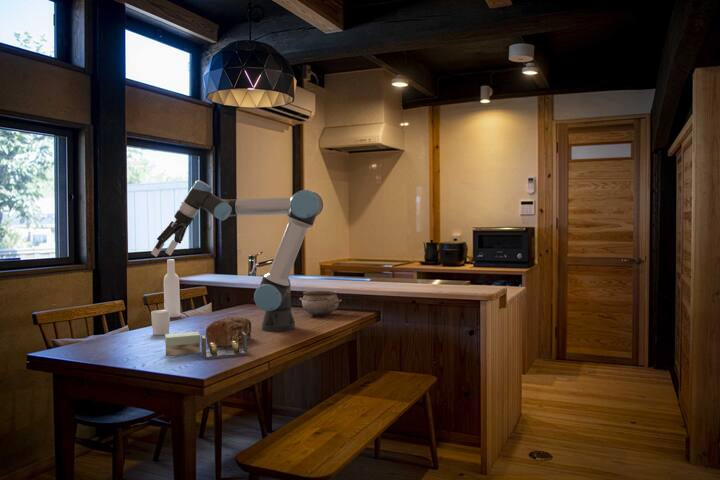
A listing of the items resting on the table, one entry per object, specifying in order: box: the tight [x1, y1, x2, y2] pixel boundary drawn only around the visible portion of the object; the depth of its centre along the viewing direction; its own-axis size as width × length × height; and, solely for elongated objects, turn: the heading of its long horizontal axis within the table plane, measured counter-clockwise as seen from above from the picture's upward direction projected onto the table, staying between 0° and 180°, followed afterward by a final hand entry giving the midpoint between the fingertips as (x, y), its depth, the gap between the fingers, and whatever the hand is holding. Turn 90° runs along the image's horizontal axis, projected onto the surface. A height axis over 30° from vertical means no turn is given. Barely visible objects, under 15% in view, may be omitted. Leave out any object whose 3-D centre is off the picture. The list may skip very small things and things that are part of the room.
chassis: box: [200, 332, 249, 361], centre depth 213 cm, size 16×12×7 cm
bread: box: [205, 316, 252, 348], centre depth 235 cm, size 19×11×10 cm, turn 160°
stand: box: [165, 342, 201, 357], centre depth 216 cm, size 12×3×4 cm, turn 111°
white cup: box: [150, 309, 171, 336], centre depth 257 cm, size 8×8×10 cm
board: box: [164, 330, 201, 347], centre depth 216 cm, size 12×8×3 cm, turn 111°
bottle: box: [163, 258, 181, 318], centre depth 305 cm, size 8×8×30 cm
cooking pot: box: [299, 289, 343, 318], centre depth 298 cm, size 25×19×12 cm
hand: (160, 254), depth 254 cm, fingers open, 13 cm apart
